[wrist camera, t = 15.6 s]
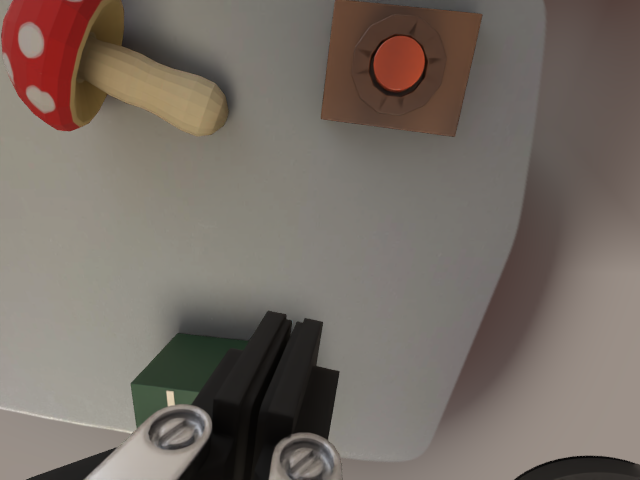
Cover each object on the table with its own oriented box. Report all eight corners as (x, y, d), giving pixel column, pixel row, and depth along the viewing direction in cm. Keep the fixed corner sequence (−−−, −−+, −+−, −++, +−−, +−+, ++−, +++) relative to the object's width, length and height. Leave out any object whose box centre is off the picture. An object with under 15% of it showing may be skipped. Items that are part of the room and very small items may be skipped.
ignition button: (426, 43, 26) (429, 38, 24) (416, 95, 26) (419, 93, 25) (377, 38, 26) (378, 32, 24) (370, 89, 27) (369, 87, 25)
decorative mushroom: (263, 18, 27) (18, -116, 22) (214, 160, 25) (-76, 45, 20) (234, 92, 37) (61, 11, 32) (197, 197, 35) (3, 128, 30)
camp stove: (313, 347, 38) (294, 411, 29) (310, 422, 40) (293, 500, 32) (177, 332, 39) (124, 389, 31) (184, 405, 42) (136, 475, 34)
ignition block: (475, 21, 28) (490, 6, 24) (449, 135, 30) (460, 137, 27) (337, 7, 29) (332, -10, 25) (324, 119, 31) (316, 118, 27)
